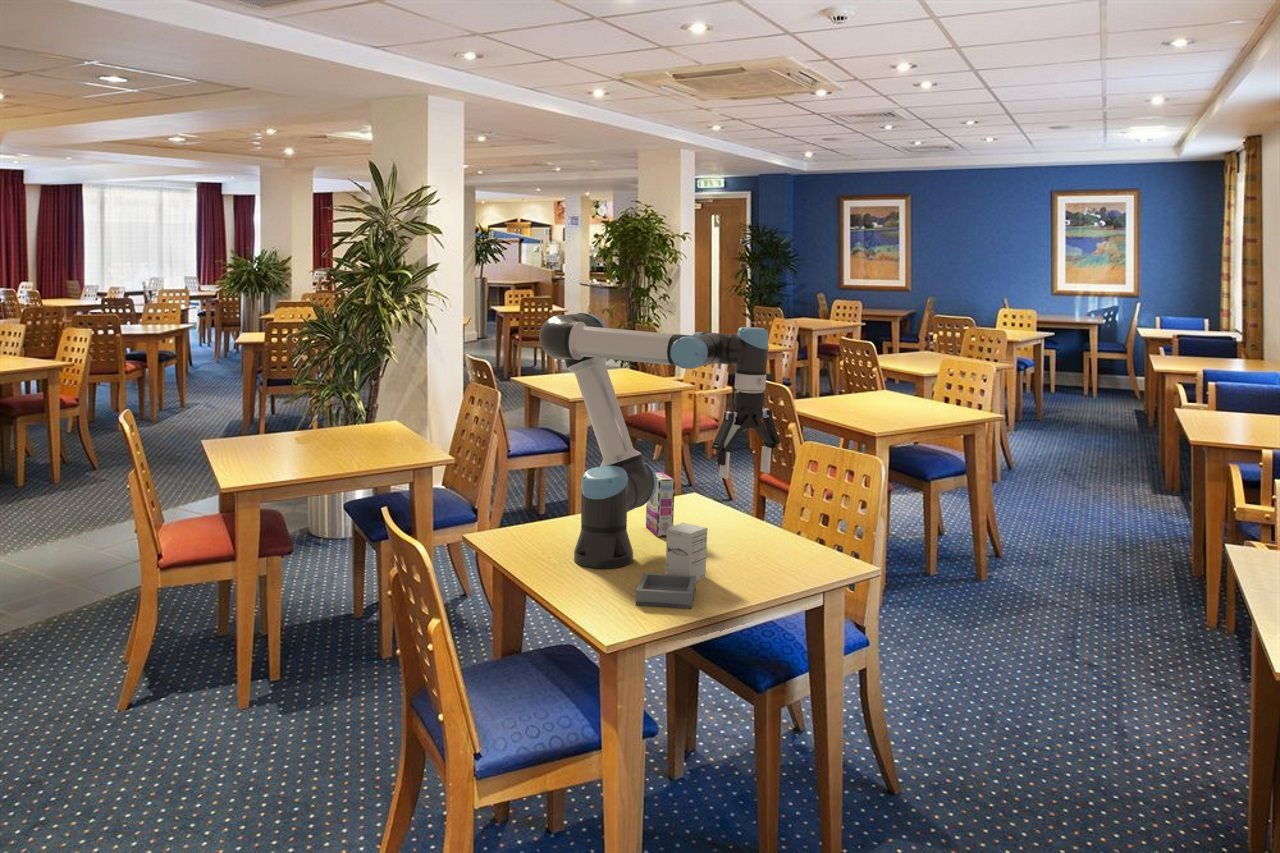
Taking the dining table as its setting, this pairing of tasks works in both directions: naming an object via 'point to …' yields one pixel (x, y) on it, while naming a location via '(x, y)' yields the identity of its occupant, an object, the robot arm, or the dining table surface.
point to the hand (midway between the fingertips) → (744, 475)
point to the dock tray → (666, 590)
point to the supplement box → (686, 550)
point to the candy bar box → (661, 506)
